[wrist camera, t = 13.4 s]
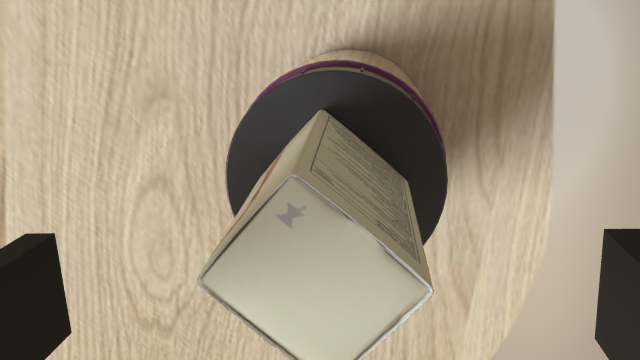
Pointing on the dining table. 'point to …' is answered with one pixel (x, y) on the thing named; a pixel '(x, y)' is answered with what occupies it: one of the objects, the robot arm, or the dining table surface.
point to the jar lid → (358, 117)
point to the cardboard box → (323, 249)
